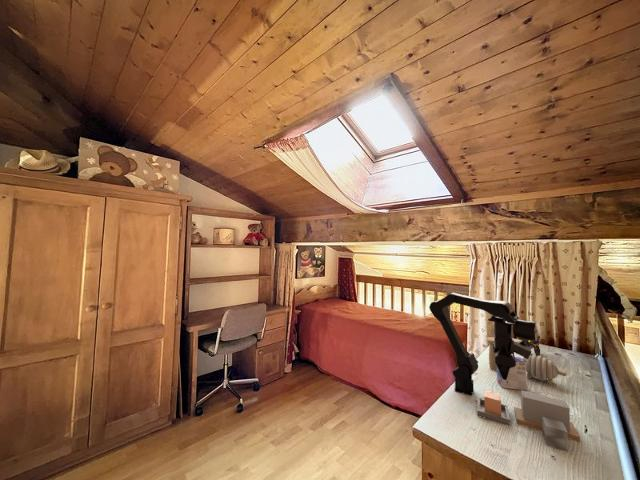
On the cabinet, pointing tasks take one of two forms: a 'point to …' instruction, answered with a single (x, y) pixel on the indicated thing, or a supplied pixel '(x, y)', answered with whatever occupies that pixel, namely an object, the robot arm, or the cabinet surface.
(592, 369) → the cabinet surface
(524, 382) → the ink cartridge box
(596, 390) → the cabinet surface
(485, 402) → the terracotta block
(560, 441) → the grey block
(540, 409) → the mounted unit
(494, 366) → the handle
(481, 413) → the tray
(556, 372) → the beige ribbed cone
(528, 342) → the doll family
